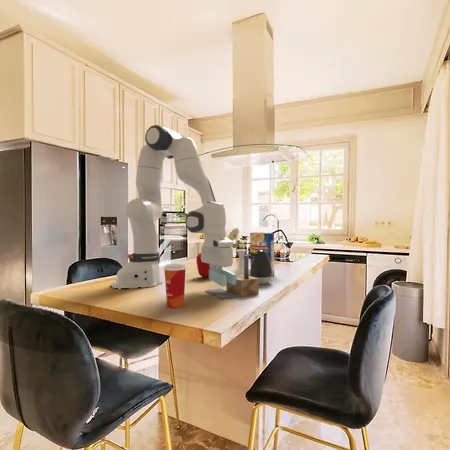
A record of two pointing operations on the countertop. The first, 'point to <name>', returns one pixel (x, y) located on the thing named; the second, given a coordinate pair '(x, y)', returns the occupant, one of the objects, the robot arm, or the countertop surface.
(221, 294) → the mat
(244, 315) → the countertop surface
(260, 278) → the pump dispenser
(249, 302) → the countertop surface
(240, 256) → the flower in vase
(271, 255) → the beverage box
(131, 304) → the countertop surface
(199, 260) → the apple
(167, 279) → the paper cup
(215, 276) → the c link
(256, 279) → the stand
